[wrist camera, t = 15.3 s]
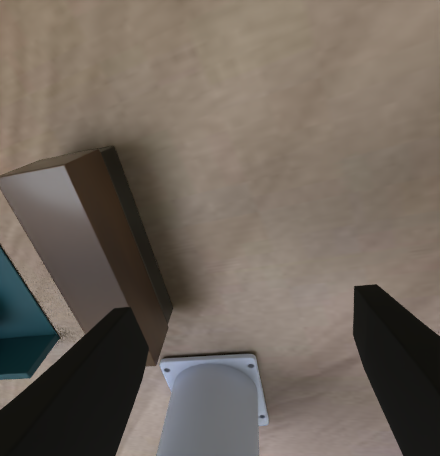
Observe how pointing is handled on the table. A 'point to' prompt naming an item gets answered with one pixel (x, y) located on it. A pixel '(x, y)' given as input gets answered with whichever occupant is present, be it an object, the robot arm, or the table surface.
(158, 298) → the brown bar
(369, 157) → the table surface
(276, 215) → the table surface
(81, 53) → the table surface
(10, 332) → the pusher tool
